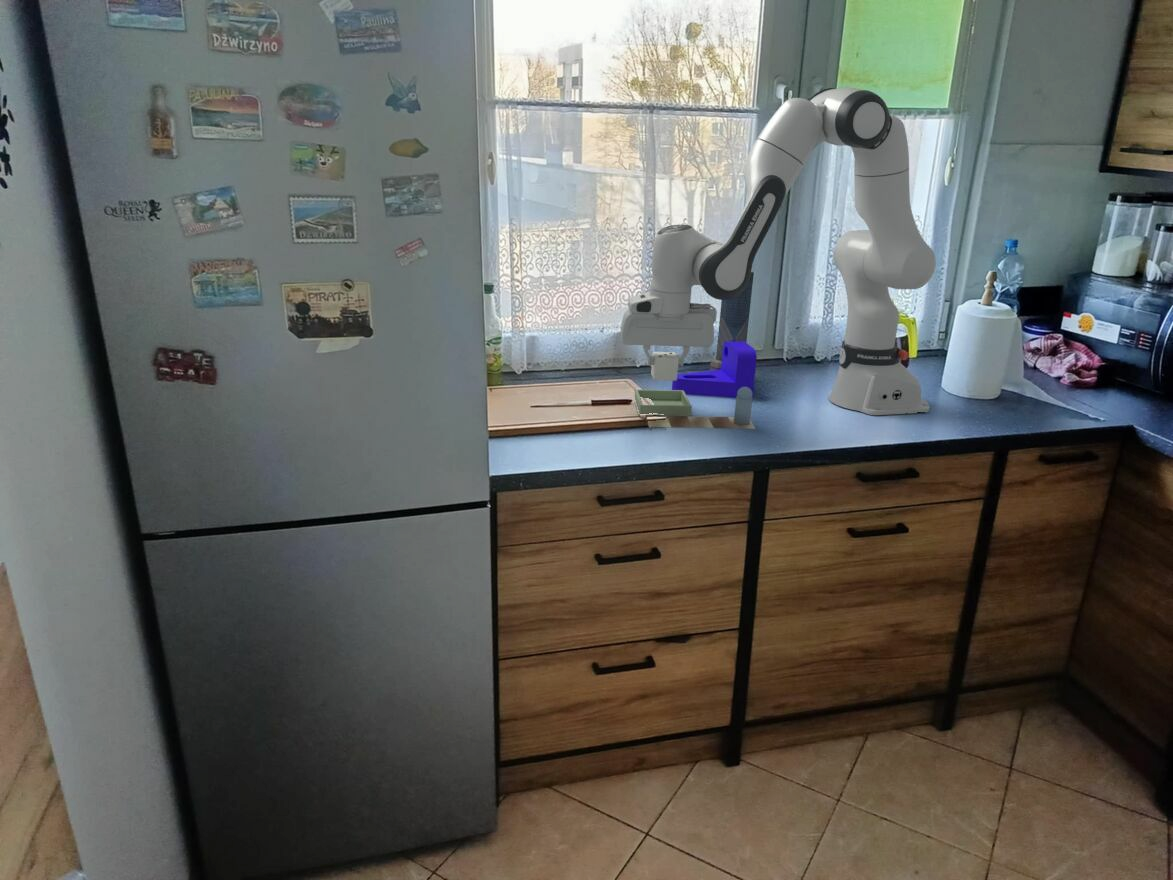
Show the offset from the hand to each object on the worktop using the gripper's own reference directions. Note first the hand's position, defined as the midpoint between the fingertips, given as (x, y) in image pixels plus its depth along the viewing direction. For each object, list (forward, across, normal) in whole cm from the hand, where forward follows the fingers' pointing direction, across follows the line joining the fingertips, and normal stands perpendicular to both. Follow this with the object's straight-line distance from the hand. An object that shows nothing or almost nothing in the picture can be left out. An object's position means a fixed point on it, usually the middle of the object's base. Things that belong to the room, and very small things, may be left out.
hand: (664, 364), depth 192 cm
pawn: (+10, -16, +9) cm, 21 cm away
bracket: (+11, -13, -13) cm, 21 cm away
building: (+10, -20, -24) cm, 33 cm away
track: (+10, -7, +9) cm, 16 cm away
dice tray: (+10, 0, 0) cm, 10 cm away
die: (+3, 0, 0) cm, 3 cm away
